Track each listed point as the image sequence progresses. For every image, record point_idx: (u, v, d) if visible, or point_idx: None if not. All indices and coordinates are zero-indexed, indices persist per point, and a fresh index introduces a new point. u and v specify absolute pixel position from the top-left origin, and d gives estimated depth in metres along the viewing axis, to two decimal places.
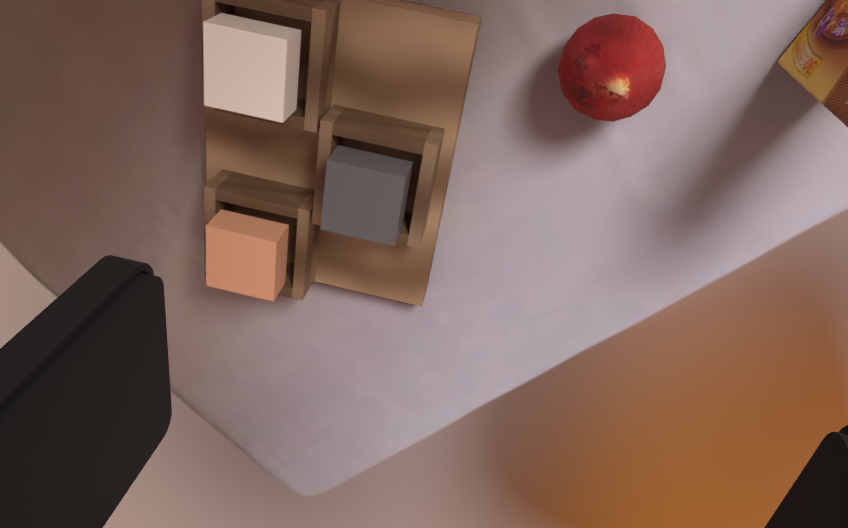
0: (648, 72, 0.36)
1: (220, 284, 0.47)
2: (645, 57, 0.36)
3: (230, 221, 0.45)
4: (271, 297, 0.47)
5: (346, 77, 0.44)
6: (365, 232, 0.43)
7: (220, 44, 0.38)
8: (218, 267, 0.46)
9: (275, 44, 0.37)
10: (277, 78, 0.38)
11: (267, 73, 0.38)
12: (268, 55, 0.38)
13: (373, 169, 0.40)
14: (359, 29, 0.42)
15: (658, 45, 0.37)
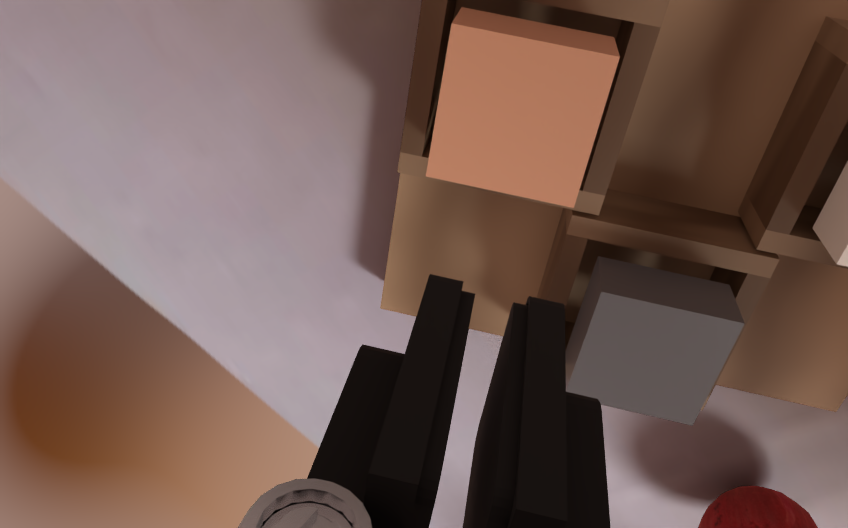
0: None
1: (458, 61, 0.20)
2: None
3: None
4: (435, 174, 0.22)
5: None
6: (592, 359, 0.24)
7: None
8: (506, 67, 0.20)
9: None
10: None
11: None
12: None
13: (712, 383, 0.24)
14: None
15: None
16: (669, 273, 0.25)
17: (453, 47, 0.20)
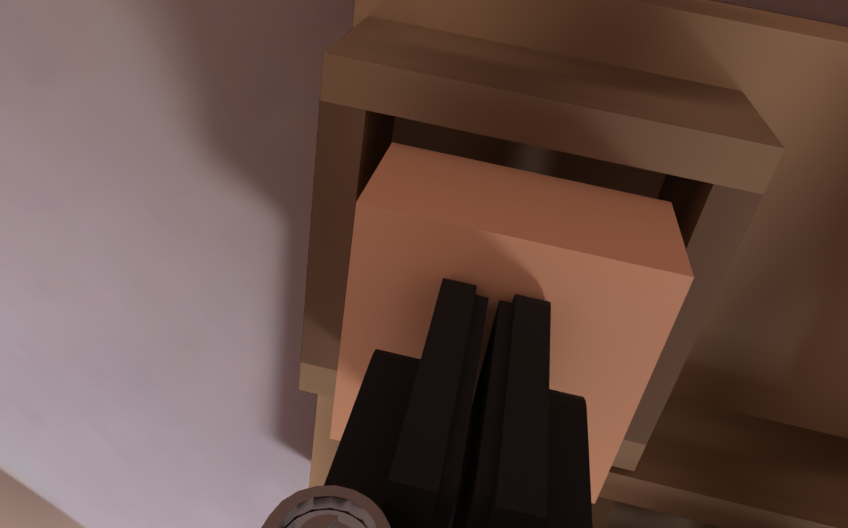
0: None
1: (374, 267, 0.10)
2: None
3: None
4: None
5: None
6: None
7: None
8: (466, 282, 0.10)
9: None
10: None
11: None
12: None
13: None
14: None
15: None
16: None
17: (363, 243, 0.10)
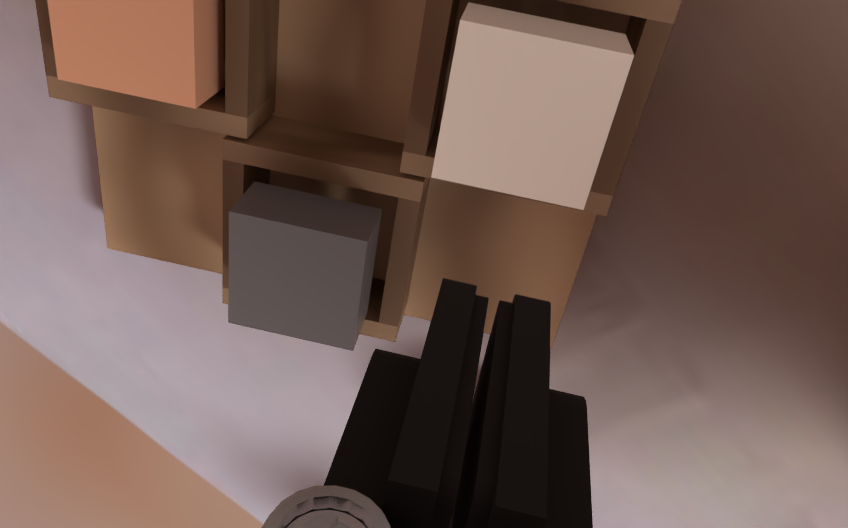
0: None
1: None
2: None
3: None
4: (66, 76, 0.23)
5: None
6: (242, 282, 0.25)
7: (585, 83, 0.19)
8: None
9: (577, 189, 0.21)
10: (515, 181, 0.21)
11: (525, 164, 0.21)
12: (558, 172, 0.21)
13: (359, 306, 0.24)
14: None
15: None
16: (322, 197, 0.25)
17: None
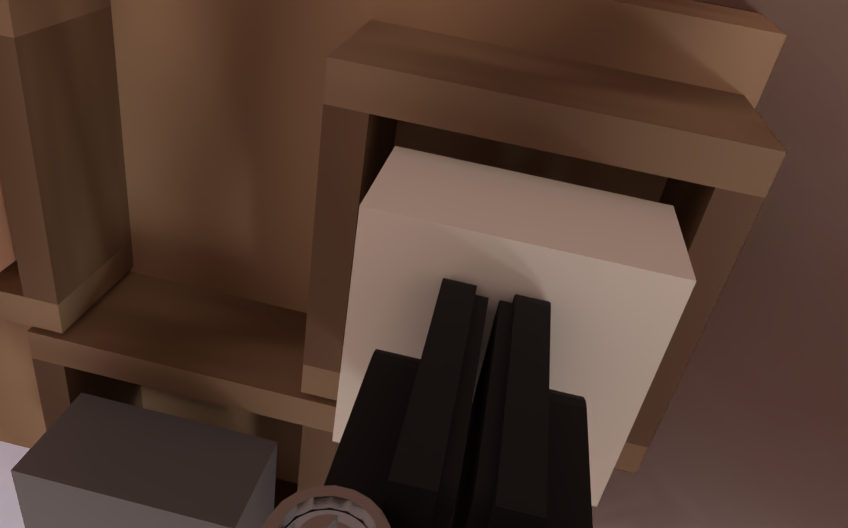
0: None
1: None
2: None
3: None
4: None
5: None
6: None
7: (600, 321, 0.10)
8: None
9: None
10: None
11: None
12: None
13: None
14: None
15: None
16: (183, 423, 0.16)
17: None
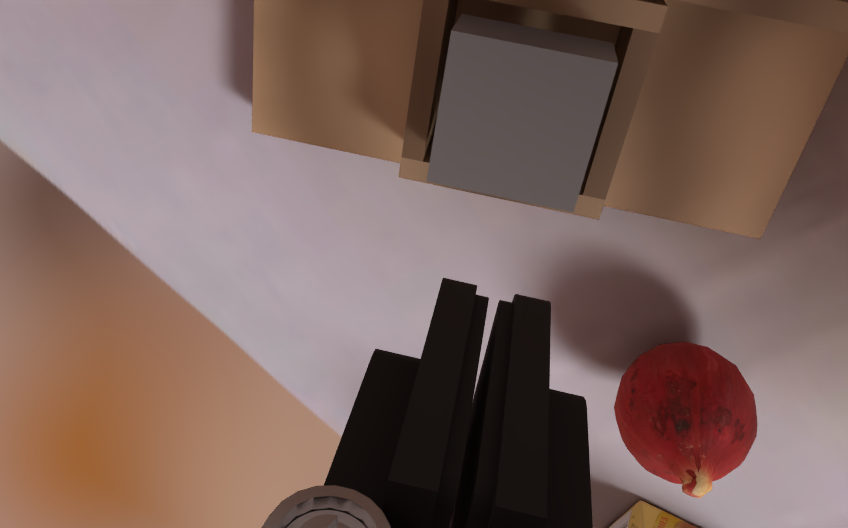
0: None
1: None
2: None
3: None
4: None
5: (707, 19, 0.23)
6: (451, 127, 0.21)
7: None
8: None
9: None
10: None
11: None
12: None
13: (590, 153, 0.21)
14: (793, 51, 0.23)
15: None
16: (543, 30, 0.21)
17: None
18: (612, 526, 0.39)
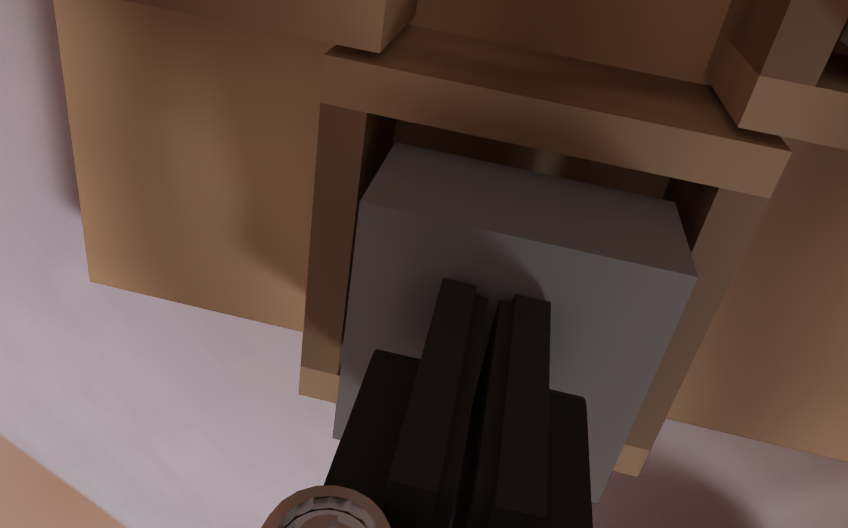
0: None
1: None
2: None
3: None
4: None
5: None
6: None
7: None
8: None
9: None
10: None
11: None
12: None
13: (633, 418, 0.11)
14: None
15: None
16: (544, 177, 0.11)
17: None
18: None
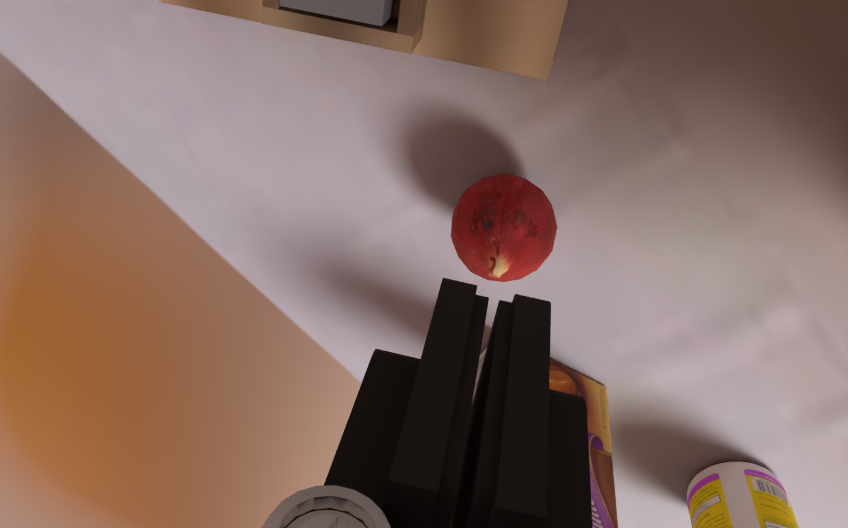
0: (508, 278, 0.37)
1: None
2: (522, 274, 0.37)
3: None
4: None
5: None
6: None
7: None
8: None
9: None
10: None
11: None
12: None
13: None
14: None
15: None
16: None
17: None
18: None
